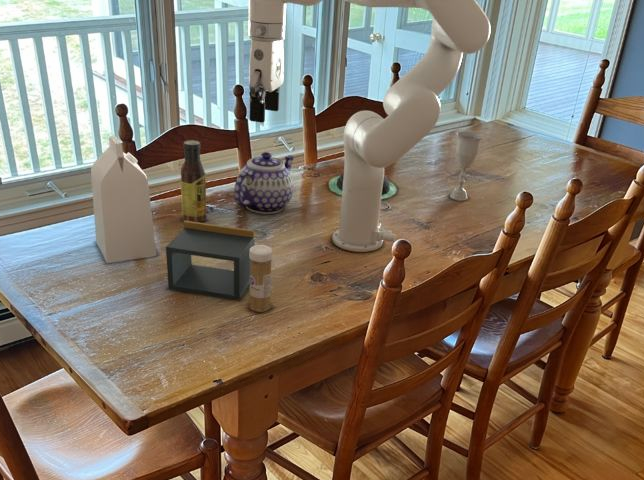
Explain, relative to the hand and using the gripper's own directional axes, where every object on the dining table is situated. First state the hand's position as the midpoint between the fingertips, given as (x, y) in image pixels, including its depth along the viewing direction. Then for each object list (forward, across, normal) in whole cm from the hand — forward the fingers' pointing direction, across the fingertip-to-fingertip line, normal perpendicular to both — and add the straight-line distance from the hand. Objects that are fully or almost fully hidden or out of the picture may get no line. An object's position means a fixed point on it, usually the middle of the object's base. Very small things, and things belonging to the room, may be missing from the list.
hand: (264, 115), depth 157 cm
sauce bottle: (+32, +11, +22) cm, 41 cm away
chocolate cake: (+32, +51, -14) cm, 61 cm away
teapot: (+32, +26, +8) cm, 42 cm away
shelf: (+32, -20, +4) cm, 38 cm away
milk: (+32, -11, +30) cm, 45 cm away
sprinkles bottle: (+32, -26, -9) cm, 43 cm away
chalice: (+31, +54, -42) cm, 75 cm away
